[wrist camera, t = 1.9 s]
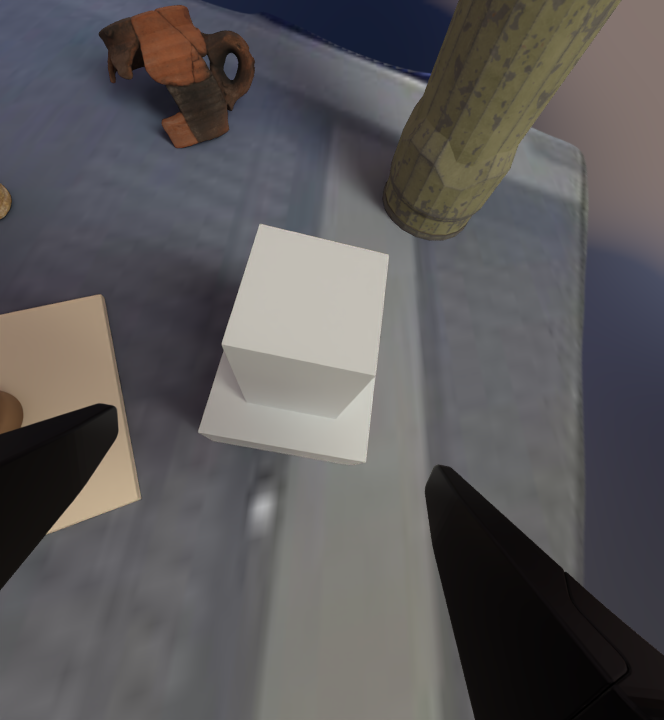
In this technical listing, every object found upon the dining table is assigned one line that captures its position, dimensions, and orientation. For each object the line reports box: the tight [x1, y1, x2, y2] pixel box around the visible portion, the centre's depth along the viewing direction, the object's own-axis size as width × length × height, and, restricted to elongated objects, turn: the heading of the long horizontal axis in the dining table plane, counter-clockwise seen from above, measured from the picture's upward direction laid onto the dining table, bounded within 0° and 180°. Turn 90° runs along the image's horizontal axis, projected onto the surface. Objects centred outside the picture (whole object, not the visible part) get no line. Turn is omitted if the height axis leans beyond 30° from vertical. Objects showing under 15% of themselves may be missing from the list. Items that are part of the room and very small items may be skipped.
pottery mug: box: [99, 5, 255, 148], centre depth 28 cm, size 12×10×8 cm
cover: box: [198, 224, 389, 465], centre depth 16 cm, size 9×9×12 cm
